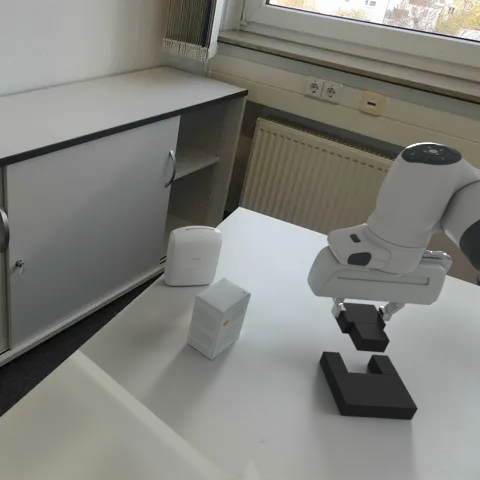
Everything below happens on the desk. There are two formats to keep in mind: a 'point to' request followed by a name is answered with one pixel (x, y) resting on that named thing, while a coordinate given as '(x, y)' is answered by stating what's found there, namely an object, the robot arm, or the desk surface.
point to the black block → (364, 327)
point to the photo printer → (192, 256)
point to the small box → (217, 317)
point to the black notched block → (368, 388)
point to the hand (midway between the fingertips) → (359, 316)
